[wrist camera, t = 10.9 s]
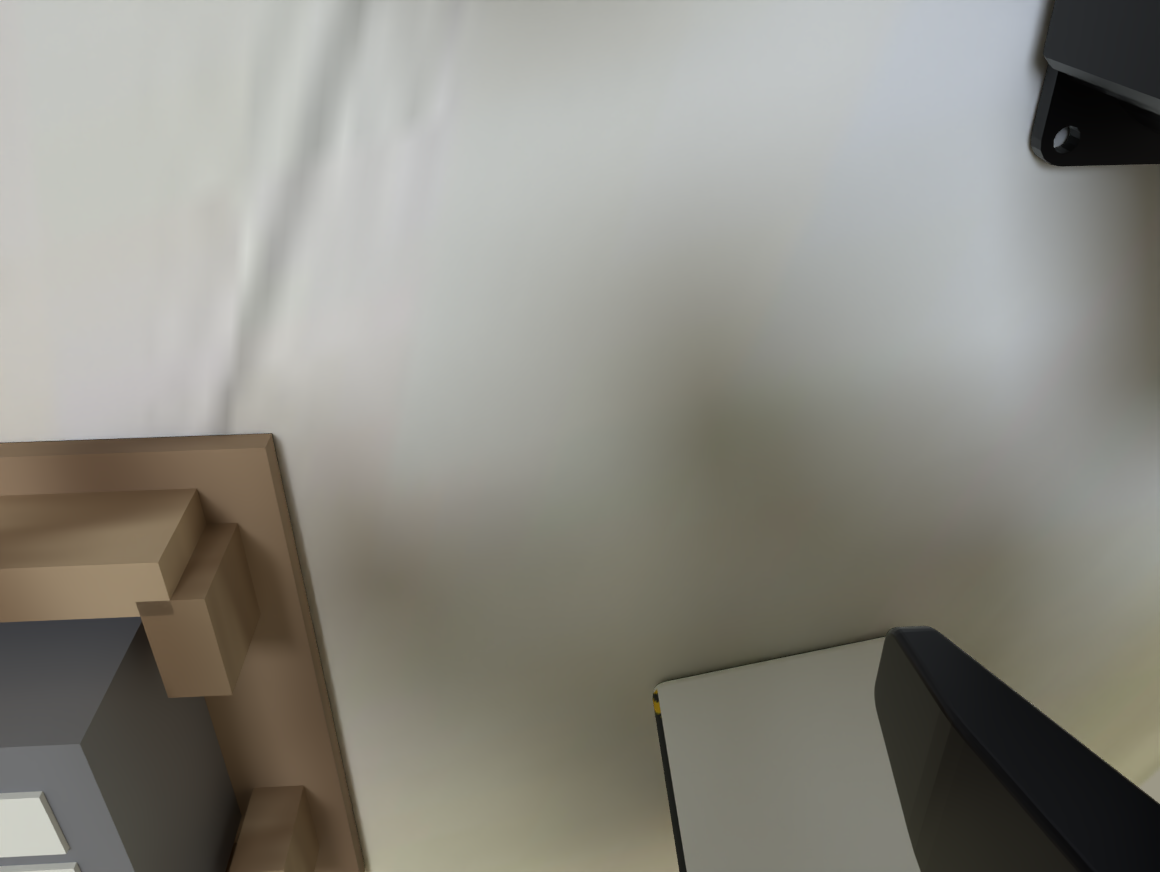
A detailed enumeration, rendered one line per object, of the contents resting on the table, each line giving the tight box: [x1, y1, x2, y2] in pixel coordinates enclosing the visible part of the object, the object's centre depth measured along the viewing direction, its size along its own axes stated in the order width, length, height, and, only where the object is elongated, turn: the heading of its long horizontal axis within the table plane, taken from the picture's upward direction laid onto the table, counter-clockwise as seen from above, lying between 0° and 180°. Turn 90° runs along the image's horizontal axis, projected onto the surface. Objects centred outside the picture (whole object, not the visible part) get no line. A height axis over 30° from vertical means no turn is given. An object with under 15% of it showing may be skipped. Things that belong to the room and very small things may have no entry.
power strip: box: [0, 617, 242, 872], centre depth 22 cm, size 4×9×5 cm, turn 1°
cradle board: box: [0, 434, 365, 872], centre depth 24 cm, size 10×16×3 cm, turn 1°
